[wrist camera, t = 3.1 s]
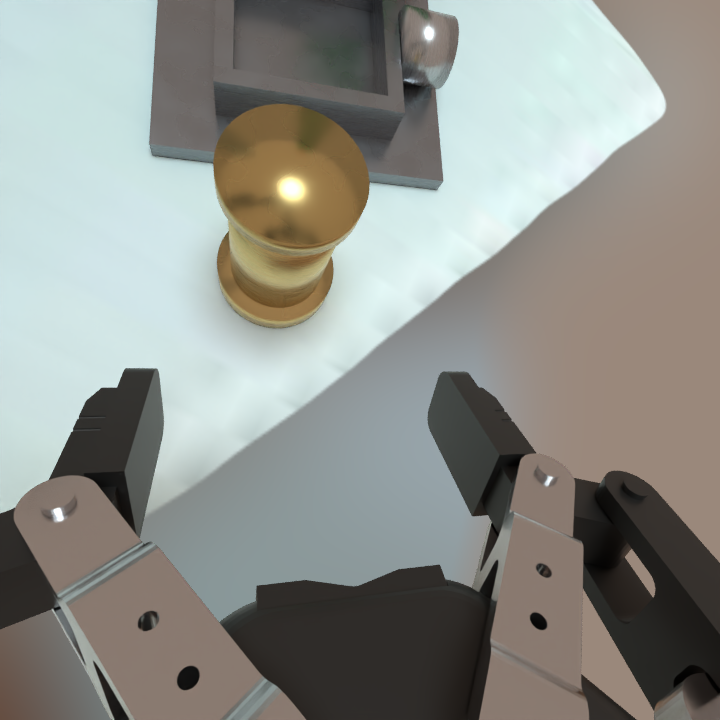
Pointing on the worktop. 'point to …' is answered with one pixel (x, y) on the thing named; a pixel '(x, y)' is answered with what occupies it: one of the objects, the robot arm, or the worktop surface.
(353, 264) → the worktop surface
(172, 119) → the coupling base
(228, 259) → the gold tall waisted piece
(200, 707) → the robot arm
